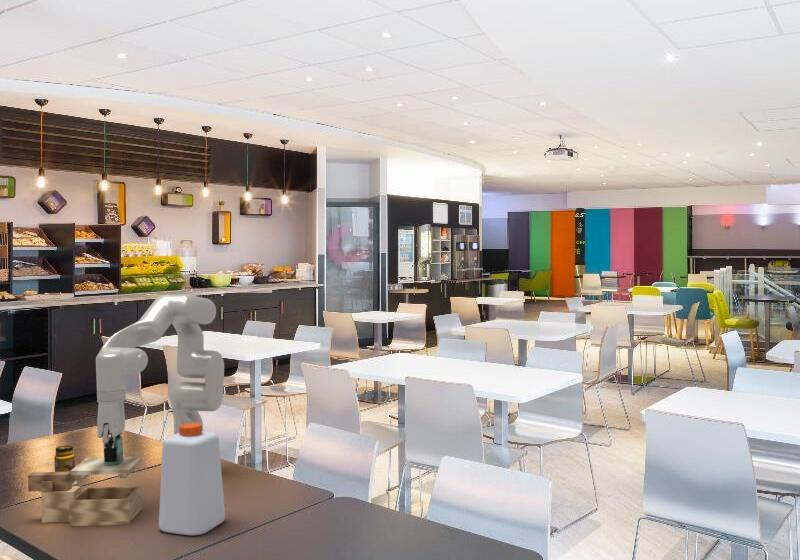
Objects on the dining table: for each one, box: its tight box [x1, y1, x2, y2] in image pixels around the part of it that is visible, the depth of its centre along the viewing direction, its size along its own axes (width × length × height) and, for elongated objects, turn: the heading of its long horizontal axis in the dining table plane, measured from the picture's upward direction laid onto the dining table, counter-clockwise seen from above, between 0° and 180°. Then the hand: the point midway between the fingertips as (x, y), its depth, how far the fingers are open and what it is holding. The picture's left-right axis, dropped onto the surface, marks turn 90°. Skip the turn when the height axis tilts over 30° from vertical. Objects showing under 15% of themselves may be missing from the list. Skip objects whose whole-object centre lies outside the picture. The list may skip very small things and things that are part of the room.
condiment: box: [54, 445, 78, 486], centre depth 243 cm, size 7×8×12 cm
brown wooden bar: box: [27, 471, 73, 492], centre depth 209 cm, size 11×3×4 cm, turn 93°
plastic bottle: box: [158, 423, 226, 537], centre depth 203 cm, size 15×15×28 cm
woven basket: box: [40, 481, 142, 527], centre depth 210 cm, size 25×12×12 cm, turn 93°
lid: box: [70, 436, 143, 480], centre depth 210 cm, size 16×12×10 cm
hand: (113, 458), depth 211 cm, fingers closed on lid, 4 cm apart
